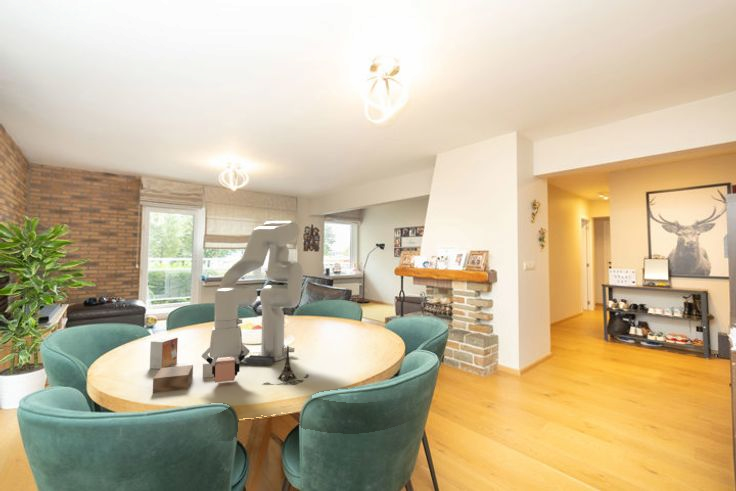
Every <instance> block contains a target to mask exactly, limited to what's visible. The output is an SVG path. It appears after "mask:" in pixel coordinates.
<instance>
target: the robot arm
mask: <svg viewBox="0 0 736 491" xmlns="http://www.w3.org/2000/svg"><path fill="white" fill-rule="evenodd" d="M300 231H301V230H300V226H299V223H298V222H296V221H294V220H271V221H266V222H264V223H263V224H262V225H261V226H258V227H255V228H254V229H253V230H252V231H251V234H250V237H249V239H248V241H247V244H246V247H245V248H244V252H243V254H242V257H241V258H240V259H239V260H238V261H236V263H234V264H233V265H232V266H231V267H230V268H229V269H228V270H227V271H226V272H225V273H224V275H223V277H222V278H221V281H220V284H219V287H218V288H217V289H216V290H215V292H214V327H212V330H211V334H210V343H209V347H208V348H207V349H206V350H205V351H204V352H203V353H202V355H201V358H202V359H203V360H204V361H205V360H206V361H207V362H208V363H209V364H211V366H212V375H213V374H214V377H213V378H214V379H215V365H216V361H217V359H223V358H230V357H234V359H235V361H236V363H235V377H236V376H238V373H239V372H240V364H241V361H242V360H243V359H244V358H246V357H248V355H249V354H250V352H251V351H250V349H248V348H247V347H246V346H245V345H244V344H243V337H242V334H243V333H242V329H241V325H240V324H243V319H239V307H248V306H251V305H253V304H254V303H255V302H256V301H257V299H258V291H257V289H256V288H255V287H253V286H251V285H246V284H245V285H241V284H237V283H238V281H239V280H240V279H241V278H242V277H243V276H245V275H247V274H249V273H251V272H253V271H256V270H258V269H260V268H262V267H263V266H264V264H265V261H266V259H267V255H268V262H267V269H266V270H267V271H266V277H267V279H268V280H269V281H270V282H273V283H287V285H282V284H269V285H265V286H264V287H263V288H261V290H260V293H259V299H260V306H261V315H262V316H261V342H260V343H261V345H260V346H261V350H260V353H258V354H257V356H274V357H275V362H278V361H282V360H286V356H287V346H285V314H284V311H283V310H282V309H283V308H285V309H286V308H287V309H288V308H289V309H292V308H293V309H295V308H296V307H298V305H299V303H300V301H301V294H302V286H303V285H302V284H303V278H304V277H303V275H304V270H303V267H302V265H301V263H300V262H298V261H295V260H292V261H291V260H289V258H290V257H289V254H290V250H289V248H288V246H287V245H289V244H290V243H292V242H294V241H295V240H297V238H298V237H299V236H300ZM268 252H269V253H268ZM288 347H289V353H295V347H292V346H288ZM242 350H243V351H244V353H243V354H242V355H241V356H240V357H239V355H240V354H241V351H242Z"/></svg>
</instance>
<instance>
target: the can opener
mask: <svg viewBox="0 0 736 491" xmlns="http://www.w3.org/2000/svg"><path fill="white" fill-rule="evenodd" d="M243 353H244V351H243V350H242V351H241V354H240V355H239V357H240V356H241V355H242V354H243ZM229 358H234V357H229ZM241 362H242V363H245V365H247V366H263V367H265V366H267V367H270V366H273V365H274V364H275V363H276V361H275V357H274V356H258V355H252V354H250V355H249V356H246V357H245V358H244V359H243V360H242V361H241ZM241 362H240V363H241Z"/></svg>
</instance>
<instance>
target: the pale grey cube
mask: <svg viewBox="0 0 736 491" xmlns="http://www.w3.org/2000/svg"><path fill="white" fill-rule="evenodd" d="M218 359H219V358H218ZM218 359H217V360H218ZM216 362H217V361H216ZM212 377H213V378H214V374H213V375H212V366H211V364H209V363H208V362H207V361H206V360H205V359H204V361H203V364H202V378H212Z"/></svg>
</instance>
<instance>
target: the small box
mask: <svg viewBox="0 0 736 491" xmlns="http://www.w3.org/2000/svg"><path fill="white" fill-rule="evenodd" d="M178 340H179V339H178V337H175V336H165V337H162V338H159V339H156V340H151V341H150V350H149V351H150V352H149V354H150V355H149V369H154V370H155V369H156V370H160V369H161V368H167V367H171V366H172V365H175V364H177V363H178V344H179V343H178Z"/></svg>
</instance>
